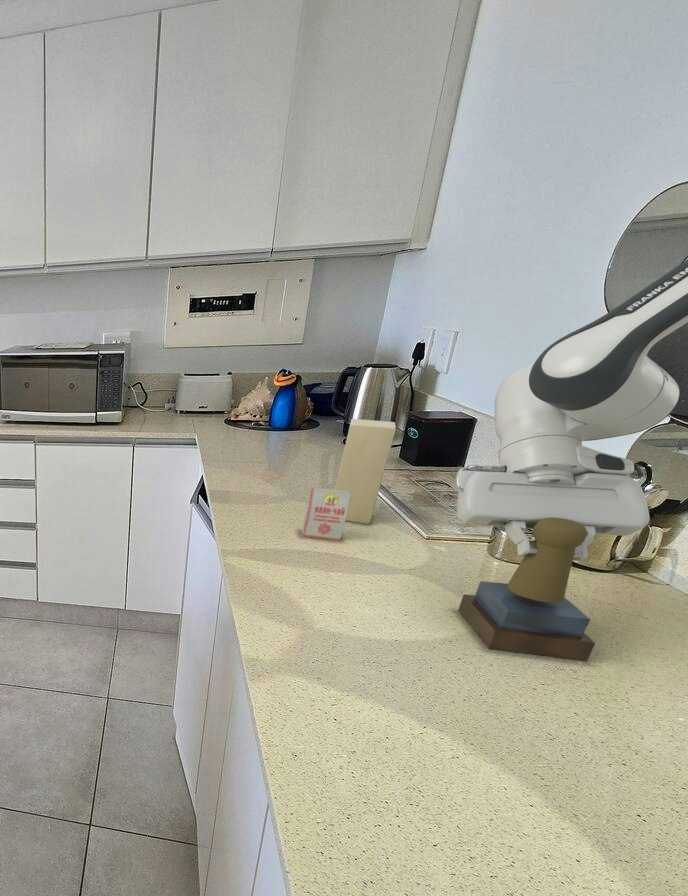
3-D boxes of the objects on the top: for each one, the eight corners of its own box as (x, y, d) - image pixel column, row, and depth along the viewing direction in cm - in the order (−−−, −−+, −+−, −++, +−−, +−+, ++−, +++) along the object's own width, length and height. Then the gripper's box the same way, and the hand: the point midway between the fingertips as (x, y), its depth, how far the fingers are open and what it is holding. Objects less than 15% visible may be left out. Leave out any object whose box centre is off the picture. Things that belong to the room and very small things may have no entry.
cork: (563, 590, 83) (594, 519, 78) (564, 607, 79) (596, 533, 74) (508, 577, 86) (534, 509, 82) (505, 593, 82) (533, 522, 78)
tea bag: (301, 529, 123) (311, 485, 119) (338, 534, 120) (349, 488, 116) (302, 536, 120) (312, 490, 116) (340, 540, 117) (351, 494, 113)
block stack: (544, 620, 88) (559, 586, 86) (587, 661, 79) (604, 624, 76) (457, 610, 92) (469, 577, 89) (488, 648, 82) (502, 612, 80)
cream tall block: (370, 513, 129) (395, 420, 121) (370, 524, 124) (396, 428, 115) (329, 508, 133) (350, 417, 125) (328, 518, 128) (349, 424, 119)
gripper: (465, 454, 84) (473, 541, 80) (648, 461, 78) (668, 556, 74) (444, 474, 90) (450, 556, 86) (614, 482, 84) (630, 572, 79)
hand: (552, 556), depth 80 cm, fingers closed on cork, 4 cm apart
